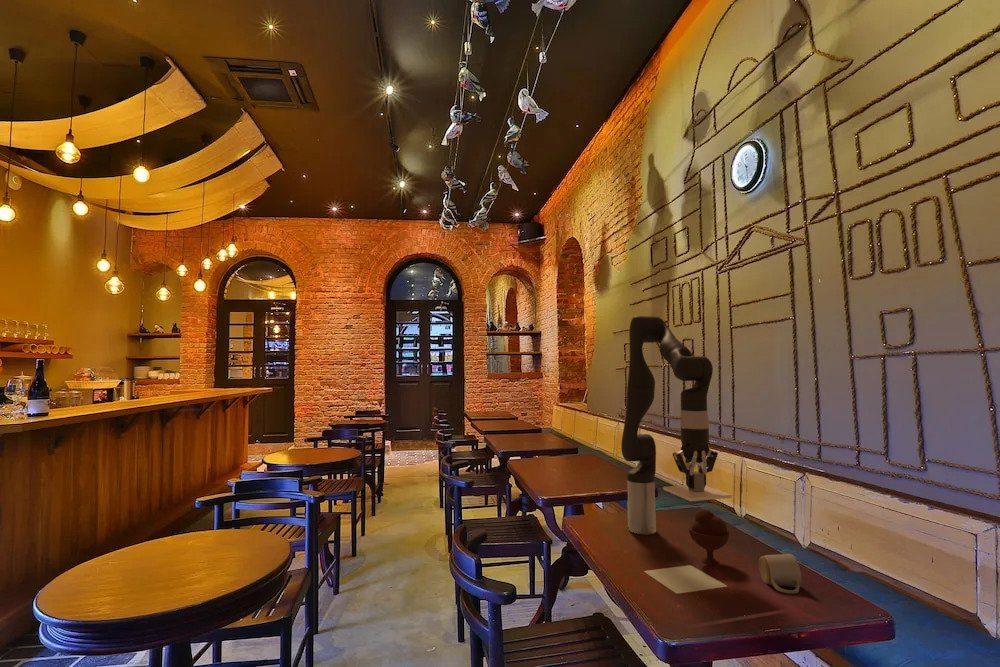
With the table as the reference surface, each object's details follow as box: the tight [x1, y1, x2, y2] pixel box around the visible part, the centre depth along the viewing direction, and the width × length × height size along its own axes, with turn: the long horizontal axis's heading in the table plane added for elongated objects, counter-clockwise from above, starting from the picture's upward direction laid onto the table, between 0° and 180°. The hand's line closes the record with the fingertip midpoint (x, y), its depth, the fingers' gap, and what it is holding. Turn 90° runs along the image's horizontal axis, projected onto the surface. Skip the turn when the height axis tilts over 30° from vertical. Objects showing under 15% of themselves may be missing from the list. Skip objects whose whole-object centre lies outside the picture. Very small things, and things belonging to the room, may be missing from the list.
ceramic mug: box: [758, 553, 802, 595], centre depth 129 cm, size 11×8×8 cm
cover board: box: [662, 470, 733, 502], centre depth 143 cm, size 13×13×6 cm
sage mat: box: [643, 564, 728, 595], centre depth 134 cm, size 15×15×1 cm
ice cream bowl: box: [688, 508, 730, 566], centre depth 146 cm, size 11×11×15 cm
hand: (696, 487), depth 143 cm, fingers closed on cover board, 3 cm apart
